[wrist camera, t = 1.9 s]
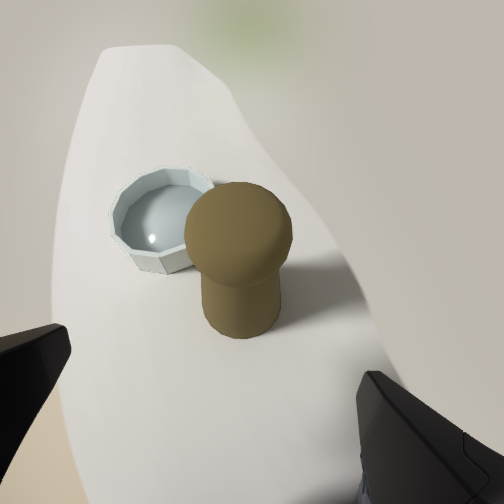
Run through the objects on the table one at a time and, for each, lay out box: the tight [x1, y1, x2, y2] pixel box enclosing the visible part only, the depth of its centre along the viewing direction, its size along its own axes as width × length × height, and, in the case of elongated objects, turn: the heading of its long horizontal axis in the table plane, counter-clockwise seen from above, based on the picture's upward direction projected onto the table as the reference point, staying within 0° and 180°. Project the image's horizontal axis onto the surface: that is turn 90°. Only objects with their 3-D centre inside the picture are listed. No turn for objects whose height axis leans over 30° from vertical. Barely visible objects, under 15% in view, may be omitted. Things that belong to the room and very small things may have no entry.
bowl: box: [108, 166, 214, 274], centre depth 24 cm, size 9×9×3 cm
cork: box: [184, 182, 293, 339], centre depth 17 cm, size 6×6×11 cm
